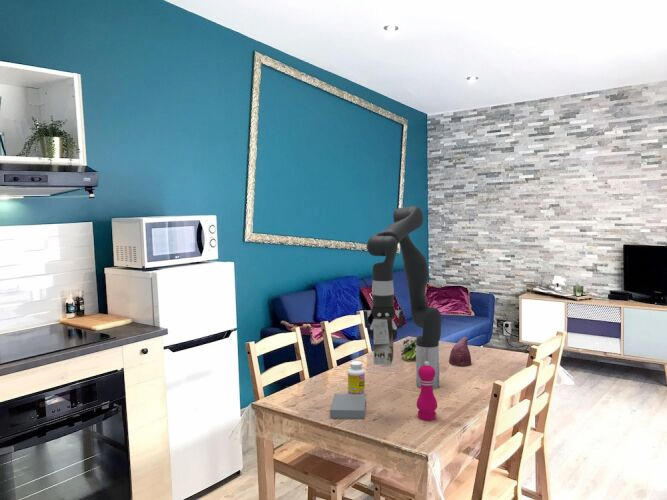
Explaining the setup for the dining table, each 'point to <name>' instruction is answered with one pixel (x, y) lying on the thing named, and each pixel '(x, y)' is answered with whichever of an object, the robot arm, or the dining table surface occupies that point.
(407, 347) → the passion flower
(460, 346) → the vegetable
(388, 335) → the coffee box
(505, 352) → the dining table surface
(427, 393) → the pepper mill
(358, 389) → the supplement bottle
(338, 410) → the block
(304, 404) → the dining table surface
